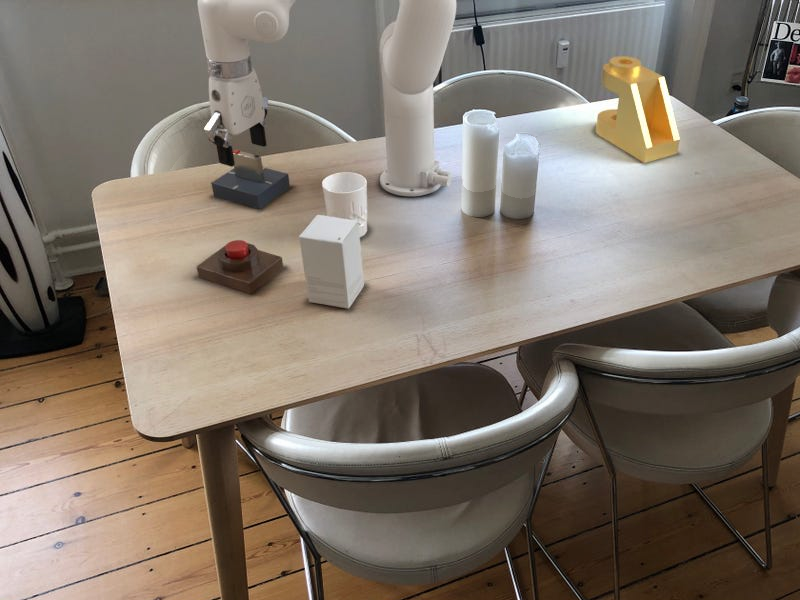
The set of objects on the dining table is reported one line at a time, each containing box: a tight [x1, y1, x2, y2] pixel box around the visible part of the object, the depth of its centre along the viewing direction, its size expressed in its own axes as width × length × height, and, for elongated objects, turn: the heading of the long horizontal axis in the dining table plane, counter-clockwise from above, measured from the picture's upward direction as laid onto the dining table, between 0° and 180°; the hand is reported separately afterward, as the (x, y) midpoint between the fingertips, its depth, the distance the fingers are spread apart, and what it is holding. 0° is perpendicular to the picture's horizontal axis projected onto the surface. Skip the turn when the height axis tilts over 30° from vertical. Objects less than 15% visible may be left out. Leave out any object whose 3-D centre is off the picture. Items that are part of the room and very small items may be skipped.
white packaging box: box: [298, 214, 365, 310], centre depth 134 cm, size 7×7×13 cm
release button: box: [224, 239, 249, 259], centre depth 140 cm, size 4×4×2 cm
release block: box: [196, 242, 284, 295], centre depth 142 cm, size 11×9×4 cm
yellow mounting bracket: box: [595, 55, 681, 164], centre depth 181 cm, size 20×9×16 cm, turn 31°
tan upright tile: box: [233, 148, 265, 183], centre depth 161 cm, size 6×1×5 cm, turn 65°
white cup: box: [321, 171, 368, 238], centre depth 151 cm, size 8×8×10 cm
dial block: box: [210, 166, 291, 210], centre depth 164 cm, size 11×10×3 cm
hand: (243, 154), depth 160 cm, fingers open, 9 cm apart
